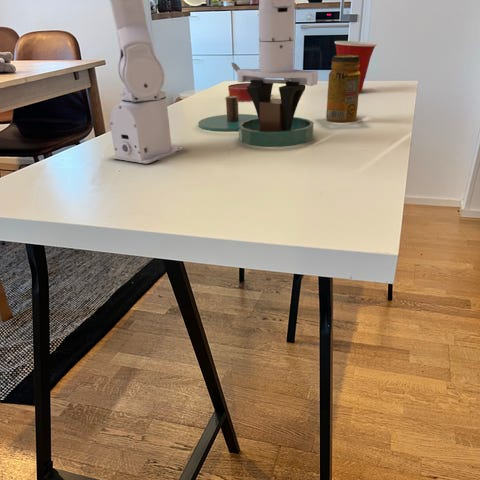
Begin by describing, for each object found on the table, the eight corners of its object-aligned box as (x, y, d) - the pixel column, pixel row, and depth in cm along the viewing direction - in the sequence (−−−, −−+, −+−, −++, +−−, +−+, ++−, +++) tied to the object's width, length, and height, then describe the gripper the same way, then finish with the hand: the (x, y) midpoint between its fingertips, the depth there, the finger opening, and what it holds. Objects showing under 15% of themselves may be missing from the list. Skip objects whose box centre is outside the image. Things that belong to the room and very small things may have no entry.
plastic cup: (376, 94, 125) (381, 41, 118) (334, 95, 125) (337, 43, 118) (367, 88, 134) (372, 38, 127) (328, 89, 134) (331, 40, 128)
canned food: (242, 113, 134) (251, 75, 132) (269, 112, 127) (278, 73, 126) (214, 97, 126) (222, 57, 124) (241, 96, 119) (250, 54, 118)
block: (279, 140, 84) (279, 103, 81) (259, 138, 86) (259, 102, 83) (291, 135, 87) (292, 99, 84) (272, 133, 89) (272, 98, 86)
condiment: (354, 118, 101) (359, 53, 94) (364, 127, 94) (371, 57, 87) (319, 120, 101) (322, 55, 94) (326, 128, 94) (331, 59, 87)
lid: (243, 137, 90) (242, 105, 87) (184, 130, 97) (181, 100, 94) (280, 122, 100) (280, 93, 97) (224, 117, 107) (222, 89, 104)
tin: (291, 153, 79) (291, 135, 78) (225, 145, 86) (224, 128, 84) (324, 136, 88) (325, 119, 87) (263, 130, 95) (263, 114, 93)
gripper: (327, 38, 78) (322, 127, 85) (251, 38, 85) (253, 120, 92) (308, 42, 73) (304, 135, 80) (229, 41, 80) (232, 128, 87)
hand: (275, 128), depth 86 cm, fingers closed on block, 4 cm apart
